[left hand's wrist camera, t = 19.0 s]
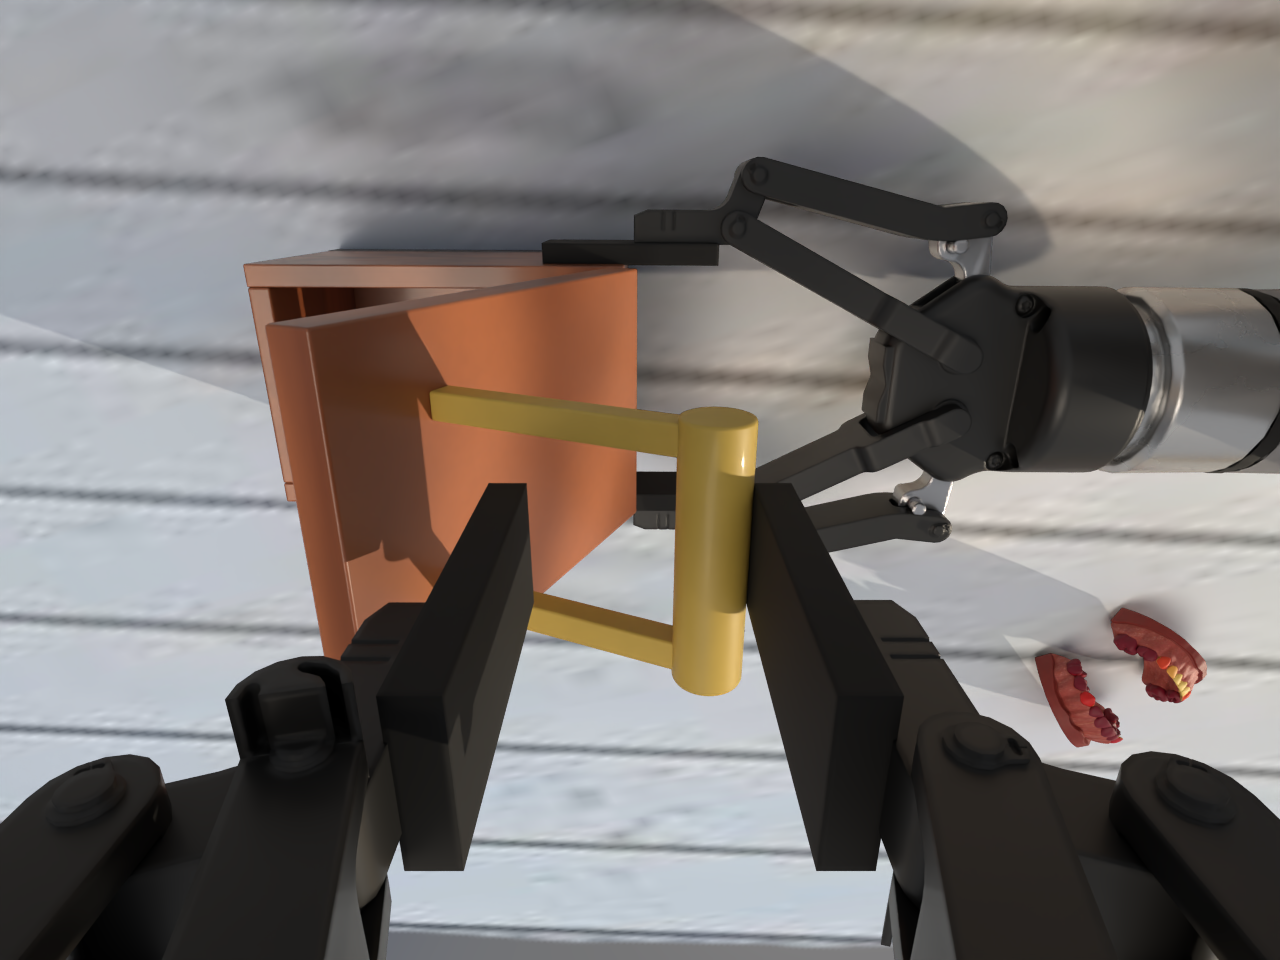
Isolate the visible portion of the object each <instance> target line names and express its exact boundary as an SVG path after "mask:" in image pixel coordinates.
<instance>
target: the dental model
mask: <svg viewBox="0 0 1280 960" xmlns="http://www.w3.org/2000/svg"><path fill="white" fill-rule="evenodd" d="M1111 621H1112V623H1111V628H1112V631H1113V634H1114V643H1115V645H1116V646H1117V648H1118V649H1119V650H1123V651H1124V652H1126V653H1128V654H1130V655H1135V654H1137V653H1138V654H1139V656H1141V657H1143V659H1144V670H1143V674H1142V682H1143V683H1144V684H1145V685H1147V686H1146V692H1147V694H1148V695H1149V696H1150V697H1154V699H1155V700H1161V701H1162V702H1165V701H1169V702H1173V703H1180V702H1182V701H1184V700H1185V699H1186V698H1188V697H1189V696H1190V694H1191V691H1192V689H1193V686H1194V684H1197V683H1198V682H1200V681H1201V680H1202V679H1203V678H1204V677H1205V676H1206V675H1207V673H1206V670H1207V665H1206V662H1205V660H1204V659H1203V658H1202V657H1201V655H1200V654H1199V653H1198V652H1197V651H1196V650H1195V649H1194V648H1193V647H1192V646H1191V645H1190V644H1189V643H1188V642H1187V641H1186V640H1185V639H1183V638H1182V637H1181V636H1179V635H1178V634H1177V633H1175V632H1174V631H1172V630H1171V629H1169V628H1167V627H1166V626H1164V625H1162V624H1160V623H1159V622H1157V621H1155V620H1153V619H1151V618H1149V617H1147V616H1144V615H1142V614H1139V613H1137V612H1134V611H1131V610H1128V609H1125V608H1121V609H1120V611H1119V612H1118V613H1117V614H1116V615H1115V616H1114V617H1113V618H1112V619H1111ZM1035 661H1036V665H1037V669H1038V673H1039V677H1040V680H1041V683H1042V686H1043V689H1044V692H1045V695H1046V698H1047V700H1048V702H1049V705H1050V707H1051V709H1052V712H1053V714H1054V716H1055V718H1056V720H1057V722H1058V723H1059V725H1060V727H1061V729H1062V731H1063V732H1064V734H1065V735H1066V737H1067V738H1068V740H1069V741H1070V742H1071V743H1072V744H1073V745H1074V746H1076V747H1083V746H1088V745H1089V744H1090V741H1091V740H1092V741H1095V742H1099V743H1105V744H1109V743H1117V742H1120V741H1121V740H1123V738H1121V737H1119V736H1120V735H1121V734H1120V731H1119V729H1118V727H1119V724H1120V723H1119V722H1118V720H1119V718H1118V716H1116V715H1115V714H1114V713H1112V710H1111V709H1110V708H1106V709H1105V708H1104V707H1103V706H1102V705H1100V704H1098V703H1097V702H1095V697H1094V696H1093V695H1092V694H1090V693H1089V692H1088V691H1089V688H1088V687H1087V681H1086V680H1085V679H1084V678H1085V677H1086V676H1087V673H1086V672H1084V671H1083V670H1082V667H1081V662H1080V660H1078V659H1072V660H1070V659H1068V658H1065V657H1062V656H1059V655H1056V654H1053V653H1050V654H1046V655H1042V656H1038V657H1035Z"/></svg>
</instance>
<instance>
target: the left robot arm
mask: <svg viewBox="0 0 1280 960" xmlns="http://www.w3.org/2000/svg"><path fill="white" fill-rule="evenodd" d="M533 604H534V593H533V577H532V561H531V544H530V528H529V512H528V496H527V483H488V485H487V487H486V489H485V491H484V493H483V495H482V497H481V498H480V500H479V502H478V504H477V506H476V508H475V510H474V512H473V513H472V515H471V517H470V519H469V521H468V523H467V525H466V527H465V529H464V530H463V532H462V534H461V536H460V538H459V540H458V542H457V544H456V546H455V547H454V549H453V551H452V553H451V555H450V557H449V559H448V561H447V563H446V564H445V566H444V568H443V570H442V572H441V574H440V576H439V578H438V580H437V581H436V583H435V585H434V587H433V589H432V591H431V593H430V595H429V597H428V598H427V600H426V602H389V603H387V604H386V605H384V606H383V607H382V608H380V609H379V610H377V611H376V612H375V613H373V614H372V615H371V616H369V617H368V618H366V619H365V620H364V621H363V623H362V625H361V626H360V628H359V629H358V631H357V632H356V634H355V635H354V637H353V638H352V640H351V644H348V646H347V648H346V649H345V651H344V652H343V654H342V655H341V657H340V660H337V659H333V658H329V657H325V656H302V657H297V658H293V659H288V660H284V661H280V662H276V663H274V664H272V665H269V666H267V667H265V668H262V669H260V670H258V671H255V672H254V673H253V674H251V675H250V676H248V677H247V678H245V679H244V680H243V681H241V682H240V683H238V684H237V685H236V686H235V687H234V689H233V690H232V691H231V692H230V694H229V695H228V696H227V698H226V699H225V702H226V706H227V709H228V713H229V717H230V721H231V725H232V729H233V733H234V737H235V740H236V744H237V748H238V752H239V756H240V761H239V764H238V766H236V767H232V768H229V769H226V770H222V771H219V772H215V773H210V774H206V775H202V776H197V777H193V778H188V779H184V780H179V781H175V782H171V783H166V784H165V783H164V779H163V776H162V773H161V770H160V767H159V766H158V765H157V764H156V763H154V762H153V761H152V760H151V759H150V758H148V757H142V756H137V755H131V754H128V755H120V756H112V757H105V758H101V759H98V760H95V761H92V762H88V763H86V764H83V765H80V766H77V767H75V768H73V769H71V770H69V771H67V772H65V773H64V774H62V775H60V776H58V777H56V778H54V779H52V780H50V781H49V782H47V783H46V784H45V785H44V786H42V787H41V788H40V789H38V790H37V791H36V792H35V793H33V794H32V795H31V796H29V797H28V798H27V799H26V800H25V801H24V802H23V803H22V804H21V805H20V806H19V807H17V808H16V809H15V810H14V811H13V812H12V813H11V814H10V815H9V816H8V817H7V818H6V819H5V820H4V821H3V822H2V823H1V824H0V960H386V952H387V943H388V932H389V922H390V912H391V902H392V901H391V894H390V887H389V881H388V876H387V872H388V869H389V867H390V864H391V861H392V859H393V856H394V853H395V851H396V848H397V845H398V842H399V841H400V847H401V853H402V859H403V865H404V871H464V868H465V864H466V860H467V856H468V852H469V849H470V845H471V841H472V837H473V833H474V830H475V826H476V822H477V818H478V814H479V810H480V807H481V803H482V799H483V795H484V791H485V788H486V784H487V780H488V776H489V772H490V768H491V765H492V761H493V757H494V753H495V749H496V746H497V742H498V738H499V734H500V730H501V726H502V723H503V719H504V715H505V711H506V707H507V703H508V700H509V696H510V692H511V688H512V684H513V681H514V677H515V673H516V669H517V665H518V661H519V658H520V654H521V650H522V646H523V642H524V639H525V635H526V631H527V627H528V623H529V619H530V616H531V612H532V608H533ZM746 604H747V608H748V611H749V615H750V619H751V623H752V627H753V631H754V634H755V638H756V642H757V646H758V650H759V653H760V657H761V661H762V665H763V669H764V673H765V676H766V680H767V684H768V688H769V692H770V696H771V699H772V703H773V707H774V711H775V715H776V718H777V722H778V726H779V730H780V734H781V738H782V741H783V745H784V749H785V753H786V757H787V760H788V764H789V768H790V772H791V776H792V780H793V783H794V787H795V791H796V795H797V799H798V802H799V806H800V810H801V814H802V818H803V822H804V825H805V829H806V833H807V837H808V841H809V845H810V848H811V852H812V856H813V860H814V864H815V867H816V871H876V866H877V859H878V853H879V847H880V841H881V839H882V841H883V844H884V847H885V849H886V852H887V855H888V857H889V860H890V863H891V865H892V868H893V876H892V881H891V887H890V893H889V898H888V904H887V910H886V915H885V921H884V927H883V933H882V940H881V945H885V946H890V945H891V940H892V941H893V951H894V960H1280V819H1279V818H1278V817H1277V816H1276V815H1275V814H1274V813H1273V812H1271V811H1270V810H1269V809H1268V808H1267V807H1266V806H1265V805H1264V804H1263V803H1262V802H1261V801H1260V800H1259V799H1258V798H1257V797H1256V796H1255V795H1254V794H1252V793H1251V792H1250V791H1248V790H1247V789H1246V788H1244V787H1243V786H1242V785H1241V784H1239V783H1238V782H1237V781H1235V780H1234V779H1233V778H1231V777H1229V776H1228V775H1226V774H1224V773H1222V772H1220V771H1218V770H1216V769H1214V768H1212V767H1210V766H1208V765H1206V764H1204V763H1201V762H1198V761H1196V760H1193V759H1189V758H1186V757H1183V756H1180V755H1177V754H1169V753H1161V752H1153V751H1150V752H1144V753H1139V754H1133V755H1131V756H1130V757H1129V758H1128V759H1127V760H1125V761H1124V762H1123V763H1122V764H1121V767H1120V770H1119V773H1118V777H1117V780H1116V781H1114V780H1110V779H1105V778H1101V777H1096V776H1092V775H1088V774H1083V773H1079V772H1074V771H1070V770H1065V769H1061V768H1058V767H1055V766H1051V765H1048V764H1044V763H1042V762H1041V760H1040V758H1039V756H1038V755H1037V753H1036V752H1035V750H1034V749H1033V747H1032V746H1031V744H1030V743H1029V742H1028V741H1027V740H1026V739H1024V738H1023V737H1022V736H1021V735H1019V734H1018V733H1017V732H1016V731H1014V730H1013V729H1012V728H1010V727H1008V726H1006V725H1004V724H1002V723H1000V722H998V721H996V720H994V719H992V718H989V717H985V716H982V715H980V714H979V713H978V711H977V710H976V708H975V707H974V705H973V704H972V702H971V701H970V699H969V698H968V696H967V695H966V693H965V692H964V690H963V689H962V687H961V685H960V684H959V682H958V681H957V679H956V678H955V676H954V675H953V673H952V672H951V670H950V669H949V667H948V666H947V664H946V663H945V661H944V660H943V659H941V658H940V654H939V652H938V650H937V649H936V647H935V646H934V644H933V643H932V642H929V637H928V635H927V634H926V632H925V631H924V629H923V628H922V626H921V625H920V623H919V622H918V620H917V618H916V617H914V616H913V615H912V614H910V613H909V612H908V611H906V610H905V609H903V608H902V607H901V606H899V605H898V604H896V603H895V602H894V601H892V600H853V598H852V596H851V594H850V593H849V591H848V589H847V587H846V585H845V583H844V581H843V579H842V577H841V576H840V574H839V572H838V570H837V568H836V566H835V564H834V562H833V560H832V559H831V557H830V555H829V553H828V551H827V549H826V547H825V545H824V544H823V542H822V540H821V538H820V536H819V534H818V532H817V530H816V528H815V527H814V525H813V523H812V521H811V519H810V517H809V515H808V513H807V511H806V510H805V508H804V506H803V504H802V502H801V500H800V498H799V496H798V494H797V493H796V491H795V489H794V487H793V485H792V483H754V494H753V509H752V524H751V539H750V554H749V569H748V583H747V598H746Z"/></svg>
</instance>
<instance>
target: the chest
mask: <svg viewBox="0 0 1280 960" xmlns="http://www.w3.org/2000/svg"><path fill="white" fill-rule="evenodd" d="M243 266H244V272H245V277H246V282H247V286H248V287H250V288H249V289H248V291H249V296H250V302H251V307H252V313H253V318H254V323H255V329H256V334H257V340H258V345H259V350H260V356H261V361H262V367H263V372H264V377H265V383H266V388H267V394H268V399H269V404H270V410H271V415H272V421H273V426H274V431H275V437H276V442H277V448H278V453H279V458H280V464H281V469H282V475H283V480H284V482H286V483H285V484H284V486H285V491H286V497H287V501H296V497H295V492H294V486H293V481H292V475H291V469H290V464H289V458H288V453H287V447H286V442H285V436H284V431H283V425H282V420H281V414H280V409H279V403H278V397H277V392H276V386H275V381H274V375H273V370H272V364H271V359H270V353H269V348H268V342H267V336H266V331H265V325H267V324H269V323H274V322H280V321H286V320H292V319H298V318H305V317H311V316H317V315H323V314H329V313H335V312H341V311H347V310H353V309H359V308H365V307H372V306H378V305H384V304H390V303H396V302H402V301H408V300H414V299H420V298H426V297H433V296H439V295H445V294H451V293H457V292H463V291H469V290H475V289H481V288H487V287H493V286H500V285H506V284H512V283H518V282H524V281H530V280H536V279H542V278H548V277H554V276H561V275H567V274H573V273H579V272H585V271H591V270H597V269H603V268H609V267H611V268H628V265H623V264H543V262H542V250H382V249H337V250H330V251H326V252H320V253H313V254H307V255H300V256H294V257H287V258H281V259H274V260H268V261H261V262H255V263H248V264H244V265H243Z"/></svg>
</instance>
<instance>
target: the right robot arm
mask: <svg viewBox="0 0 1280 960" xmlns="http://www.w3.org/2000/svg"><path fill="white" fill-rule="evenodd" d="M765 199H767V200H770V201H774V202H778V203H781V204H785V205H789V206H792V207H796V208H800V209H803V210H807V211H811V212H814V213H818V214H822V215H825V216H829V217H833V218H836V219H840V220H844V221H847V222H851V223H855V224H858V225H862V226H866V227H869V228H873V229H877V230H880V231H884V232H888V233H891V234H895V235H899V236H904V237H909V238H916V239H924V240H929V251H930V253H931V255H932V256H933V257H935V258H936V259H940V260H946V261H948V262H949V263H950V264H951V265H952V266H953V268H954V271H955V276H953V277H951V278H950V279H948V280H947V281H945V282H944V283H942V284H941V285H939V286H938V287H936V288H935V289H933V290H932V291H930V292H929V293H927V294H926V295H924V296H923V297H921V298H920V299H918V300H917V301H915V302H914V303H912V304H911V305H909V306H908V305H906V304H905V303H903V302H901V301H899V300H898V299H896V298H894V297H892V296H890V295H888V294H886V293H884V292H882V291H881V290H879V289H877V288H875V287H874V286H872V285H870V284H868V283H867V282H865V281H863V280H862V279H860V278H858V277H856V276H855V275H853V274H851V273H849V272H848V271H846V270H844V269H842V268H841V267H839V266H837V265H836V264H834V263H832V262H830V261H829V260H827V259H825V258H823V257H822V256H820V255H818V254H816V253H815V252H813V251H811V250H810V249H808V248H806V247H804V246H803V245H801V244H799V243H797V242H796V241H794V240H792V239H790V238H789V237H787V236H785V235H784V234H782V233H780V232H778V231H777V230H775V229H773V228H771V227H770V226H768V225H766V224H764V223H763V222H761V221H759V220H757V218H758V215H759V213H760V210H761V208H762V206H763V203H764V201H765ZM1006 222H1007V211H1006V209H1005V208H1004V206H1002V205H1001V204H999V203H993V202H964V203H955V204H946V205H934V204H931V203H927V202H923V201H920V200H916V199H913V198H909V197H905V196H902V195H898V194H895V193H891V192H887V191H884V190H880V189H877V188H873V187H869V186H866V185H862V184H859V183H855V182H851V181H848V180H844V179H841V178H837V177H833V176H830V175H826V174H823V173H819V172H815V171H812V170H808V169H804V168H801V167H797V166H794V165H790V164H786V163H783V162H779V161H776V160H772V159H768V158H765V157H756V158H753V159H750V160H748V161H746V162H743V163H742V164H741V165H740V166H738V167H737V170H736V172H735V176H734V180H733V182H732V185H731V188H730V190H729V193H728V195H727V197H726V199H725V201H724V202H723V203H722V204H721V205H720V206H719V207H717V208H715V209H712V210H645V211H643V212H641V213H638V214H636V215H634V240H548V241H546V242H543V243H542V262H543V264H623V265H697V266H718V259H719V245H731V246H733V247H735V248H737V249H738V250H740V251H742V252H744V253H745V254H747V255H749V256H751V257H753V258H754V259H756V260H758V261H760V262H761V263H763V264H765V265H767V266H768V267H770V268H772V269H774V270H775V271H777V272H779V273H781V274H783V275H784V276H786V277H788V278H790V279H791V280H793V281H795V282H797V283H798V284H800V285H802V286H804V287H806V288H807V289H809V290H811V291H813V292H814V293H816V294H818V295H820V296H821V297H823V298H825V299H827V300H829V301H830V302H832V303H834V304H836V305H837V306H839V307H841V308H843V309H844V310H846V311H848V312H850V313H851V314H853V315H855V316H857V317H858V318H860V319H862V320H864V321H865V322H867V323H869V324H871V325H873V326H874V327H876V328H878V329H879V331H878V332H877V334H876V336H875V338H870V344H869V353H868V359H869V365H870V372H871V375H870V378H869V381H868V383H867V386H866V388H865V391H864V394H863V403H862V411H863V412H865V413H864V414H861V415H859V416H857V417H855V418H853V419H851V420H849V421H847V422H845V423H844V424H842V425H841V427H840V428H839V429H838V430H837V431H835V432H833V433H831V434H829V435H827V436H824V437H822V438H820V439H818V440H816V441H814V442H812V443H809V444H807V445H805V446H803V447H801V448H799V449H797V450H794V451H792V452H790V453H788V454H786V455H784V456H782V457H779V458H777V459H775V460H773V461H771V462H769V463H767V464H764V465H762V466H760V467H758V468H756V469H755V479H754V483H792V485H793V487H794V489H795V491H796V493H797V494H798V496H799V498H800V500H803V499H805V498H807V497H810V496H812V495H814V494H816V493H818V492H821V491H823V490H825V489H827V488H829V487H832V486H834V485H836V484H838V483H840V482H843V481H845V480H847V479H849V478H852V477H854V476H856V475H858V474H860V473H863V472H877V471H880V470H882V469H884V468H887V467H889V466H891V465H893V464H895V463H898V462H900V461H902V460H904V459H906V458H908V459H909V460H910V461H912V462H913V463H914V464H916V465H917V466H918V467H920V468H921V469H922V470H923V474H922V475H921V477H920V478H919V479H917V480H916V481H914V482H911V483H904V484H898V485H897V486H895V489H894V493H888V492H883V493H871V494H865V495H860V496H856V497H851V498H846V499H842V500H837V501H832V502H828V503H823V504H818V505H814V506H809V507H804V508H805V510H806V511H807V513H808V515H809V517H810V519H811V521H812V523H813V525H814V527H815V528H816V530H817V532H818V534H819V536H820V538H821V540H822V542H823V544H824V545H825V547H826V549H827V551H828V553H829V552H834V551H839V550H843V549H848V548H853V547H858V546H863V545H867V544H872V543H877V542H882V541H887V540H891V539H905V540H915V541H924V542H933V543H935V542H941V541H943V540H945V539H946V538H947V537H949V535H950V533H951V531H952V526H951V523H950V521H949V520H948V519H947V518H946V517H945V516H944V512H945V509H946V506H947V502H948V499H949V495H950V492H951V488H952V485H953V482H954V481H958V480H961V479H963V478H965V477H967V476H969V475H971V474H974V473H977V472H981V471H1003V472H1091V471H1094V470H1100V471H1105V472H1109V473H1174V472H1205V473H1224V472H1230V473H1276V474H1280V289H1261V290H1252V289H1243V288H1168V287H1124V288H1121V289H1118V290H1114V289H1112V288H1108V287H1100V286H1008V285H1005V284H1003V283H1002V282H1000V281H999V280H997V279H996V278H994V277H992V276H990V269H991V254H992V239H993V236H996V235H997V234H999V233H1000V232H1001V231H1002V230H1003V228H1004V227H1005V225H1006ZM676 480H677V472H636V513H635V514H634V515H633V525H635V526H638V527H641V528H643V529H675V520H676Z"/></svg>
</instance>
